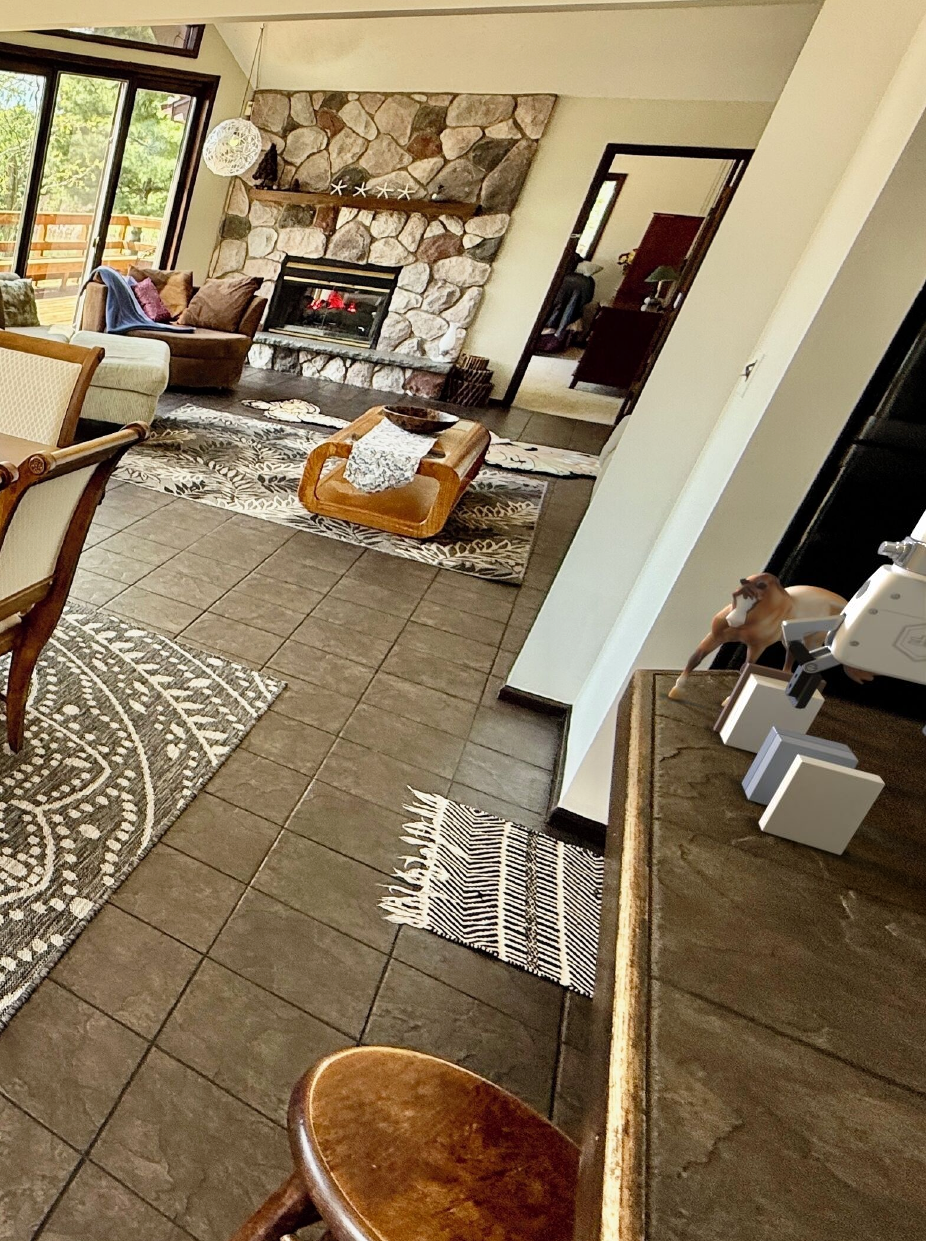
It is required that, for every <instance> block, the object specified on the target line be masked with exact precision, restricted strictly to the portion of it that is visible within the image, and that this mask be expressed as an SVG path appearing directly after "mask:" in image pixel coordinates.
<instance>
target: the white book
mask: <svg viewBox="0 0 926 1241" xmlns="http://www.w3.org/2000/svg"><path fill="white" fill-rule="evenodd" d="M885 785H886V784H885V782H884V780H883V779H882V778H881V776H880V775H877V774H874V773H870V772H866V771H862V770H859V769H855V768H854V769H851V768H848V767H844V766H840V765H836V764H833V763H829V762H825V761H821V760H818V759H814V758H810V757H807V756H803V755H799V754H798V755H797V756H796V758H795V760H794V762H793V763H792V765H791V767H790V769H789V770H788V772H787V774H786V776H785V777H784V779H783V781H782V783H781V784H780V786H779V788H778V790H777V791H776V793H775V795H774V797H773V798H772V800H771V802H770V804H769V805H767V807H766V809H765V810H764V812H763V814H762V815H761V818H760V819H759V821H758V825H759V828H760V830H761V831H762V832H764V833H768V834H771V835H773V836H777V837H779V838H783V839H786V840H790V841H794V842H797V843H800V844H802V845H806V846H809V847H812V848H816V849H820V850H822V851H826V852H829V853H831V854H832V853H833V854H835V855H838V856H841V855H842V854H843V853H844V851H845V849H846V848H847V846H848V845H849V843H850V841H851V840H852V838H853V836H854V835H855V833H856V831H857V830H858V828H859V827H860V825H861V824H862V822H863V821H864V819H865V817H866V816H867V814H868V813H869V811H870V809H871V808H872V806H873V805H874V802H875V801H876V800H877V798H878V796H879V795H880V793H881V792H882V791H883V788H884V787H885Z"/></svg>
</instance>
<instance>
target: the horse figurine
mask: <svg viewBox="0 0 926 1241" xmlns="http://www.w3.org/2000/svg"><path fill="white" fill-rule="evenodd" d="M739 583H740V585H741V586H738V588H736V589H735V591H733V592H732V593H731V597H732V602H731V603H730V604H728V605H726V606H725V607H724V608H723V609H722V610H720V611H719V612H718V613H716V614H715V615H714V616H713V618H712V620H711V625H710V630H711V631H710V632H709V633H708V634H707V635H706V636H705V637H704V638H703V640H702V641H701V642H700V643H699V644H698V646H697V648H696V650H695V651H694V652H693V653H692V654H691V655H690V657H689V659H688V660H687V664H686V666H685V668H684V669H683V671H682V672H681V674H680V676H679V677H678V678H677V679H676V683H675V685H674V686H673V687H672V688H671V690H670V691H669V693H668V697H669V698H670V699H673V700H681V699H683V698H684V697H685V694H686V688H684V686H685V685H686V684H687V683H688V679H689V677H690V676H691V673H693V671H694V670H695V669H696V668H697V667H699V666H700V665H701V663H702V662H703V661H704V659H705V658H706V657H707V656H709V655H710V654H712V653H713V652H714V651H715V650H717V649H718V648H719V647H721V646H722V645H723V644H726V643H729V642H730V643H732V642H733V643H737V642H740V643H742V644H744V645H746V646H747V650H746V659H745V662H744V663H743V664H742V665H741V667H740V670H739V672H740V675H741V674H742V673H743V671H744V669H745V667H746V665H747V663H752V664H756V663H757V661H758V659H759V658H760V657H761V655H762V654H763V652H764V651H765V650H766V649H767V648H768V647H769V646H771V645H773V644H775V643H776V642H781V643H782V645H783V647H784V648H785V650H786V652H785V653H786V654H785V662H784V665H783V669H782V671H786V672H790V673H792V667H793V665H794V663H795V661H796V659H795V658H794V657H793V655H792V654H791V653H790V651H789V650H788V648H787V647H786V645H785V640H784V636H783V631H782V626H781V623H782V622H783V621H785V620H791V619H802V618H813V617H824V616H834V615H840V614H841V612H842V611H843V610H844V608H845V607H846V606H847V604H848V603H849V602H850V601H847V599H845V598H844V597H842V596H841V595H839V594H837V593H835V592H832V591H830V590H828V589H825V588H822V587H817V586H812V585H811V586H810V585H794V586H789V587H785V588H784V587H783V585H782V584H781V582H780V580H779V578H778V577H777V576H775V575H774V574H772V573H769V572H761V573H760V574H752V575H750V576H748V577H747V578H745V577H742V578H740V579H739ZM828 632H829V631H823V632H811V633H806V634H805V635H804V636H803V639H804V640H803V641H804V646H805V647H806V648H807V650H808V651H812V650H815V649H818V648H820V647H823V644H824V643H825V639H826V636H827V634H828ZM841 665H843V670H844V672H845V675H847V676H848V678H850V679H851V680H852V681H854V682H856V683H858V684H859V685H863V684H864V682H863V681H869V682H870V681H871V682H872V681H873V680H874V679H875V677H874V676H883V675H882V674H878V673H873V672H869V671H865V670H861V669H857V668H854V667H850V666H848V665H845V664H843V663H842V664H841ZM730 696H731V695H730ZM730 696H728V697H726V699H725V700H723V702H722V703H721V707H723V708H724V707H725V705H726V703H727V701H728V699H729V697H730Z"/></svg>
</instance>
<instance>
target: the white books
mask: <svg viewBox="0 0 926 1241" xmlns="http://www.w3.org/2000/svg"><path fill="white" fill-rule="evenodd" d="M794 673H795V672H791V673H790V672H786V671H783V669H782V670H781V669H778V668H773V667H769V666H764V665H760V664H756V663H755V664H752V663H747V665H746V667H745V669H744V671H743V673H742V674H741V673H740V675H739V676H740V677H739V678H738V679H737V681H736V682H737V683H736V684H735V686H734V688H733V690H732V692H731V694H730V697H729V696H728V697H729V699H728V701H727V703H726V705H725V707H723V709H722V711H721V713H720V715H719V717H718V719H717V720H716V722H715V724H714V726H713V731H714V732H715V733H718V734H719V735H720V738H721V740H722V742H723V744H724V745H726V746H728V747H732V748H736V749H739V750H743V751H747V752H750V753H754V754H758V753H759V751H760V749H761V747H762V745H763V743H764V742H765V740H766V738H767V736H768V734H769V733H770V731H771V729H772V727H773V726H775V727H779V728H783V729H786V730H790V731H794V732H798V733H802V734H806V735H807V732H808V730H809V728H810V727H811V726H812V724H813V722H814V720H815V718H816V717H817V715H818V712H820V709H821V708H822V706H823V705H824V702H825V701H826V700H825V698H824V697H823V696H822V692H823V690H824V688H825V687H826V685H827V682H826V680H824V679H822V681H821V682H820V684H819V686H818V687H817V689H816V691H815V692H814V694H813V696H812V697H811V699H810V701H809V702H808V704H807V706H806V707H805V709H803V708H802V709H797V708H794V707H793V706H792V704H791V702H790V701H789V699H788V697H789V696H787V695H786V694H785V689H786V687H787V685H788V684H789V682H790V680H791V678H792V677H793V675H794Z"/></svg>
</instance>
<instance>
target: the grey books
mask: <svg viewBox="0 0 926 1241" xmlns="http://www.w3.org/2000/svg"><path fill="white" fill-rule="evenodd" d="M756 754H757V755H756V756H755V758H754V760H753V762H752V764H751V765H750V767H749V769H748V771H747V773H746V775H745V776H744V778H743V780H742V782H741V786H742V788H743V790H744V794H745V795H746V798H747V800H748V801H751V802H755V803H758V804H761V805H765V806H768V805H769V804H770V802H771V800H772V798H773V797H774V795H775V793H776V791H777V790H778V788H779V786H780V784H781V783H782V781H783V779H784V777H785V776H786V774H787V772H788V770H789V769H790V767H791V765H792V763H793V762H794V760H795V758H796V756H797V755H798V754H799V755H803V756H807V757H810V758H814V759H818V760H821V761H825V762H829V763H833V764H836V765H840V766H844V767H848V768H851V769H855V768H856V767H857V765H858V764H859V761H860V760H858V758H857V757H856V755H855V754H854V752H852V750H851V748H850V747H849V746H848V744H844V743H841V742H837V741H832V740H828V739H824V738H822V737H818V736H813V735H809V734H807V733H806V734H802V733H798V732H794V731H790V730H786V729H783V728H779V727H775V726H773V727H772V729H771V731H770V733H769V734H768V736H767V738H766V740H765V742H764V743H763V745H762V747H761V749H760V751H759V753H756Z"/></svg>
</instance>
